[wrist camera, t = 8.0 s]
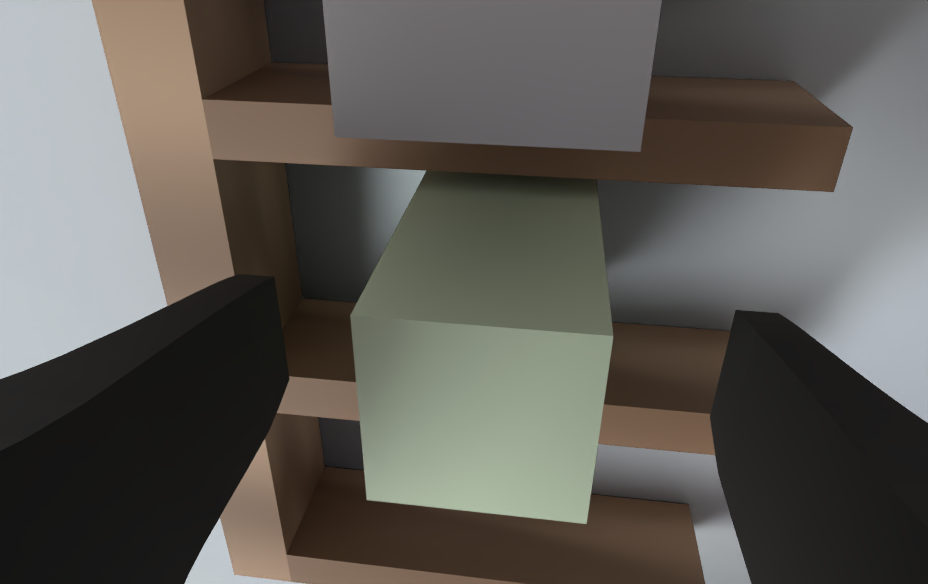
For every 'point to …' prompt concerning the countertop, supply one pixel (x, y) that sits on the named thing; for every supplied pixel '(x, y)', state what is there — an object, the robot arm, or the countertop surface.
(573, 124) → the gray block
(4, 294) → the countertop surface
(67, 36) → the countertop surface
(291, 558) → the comb rack
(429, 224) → the sage block
